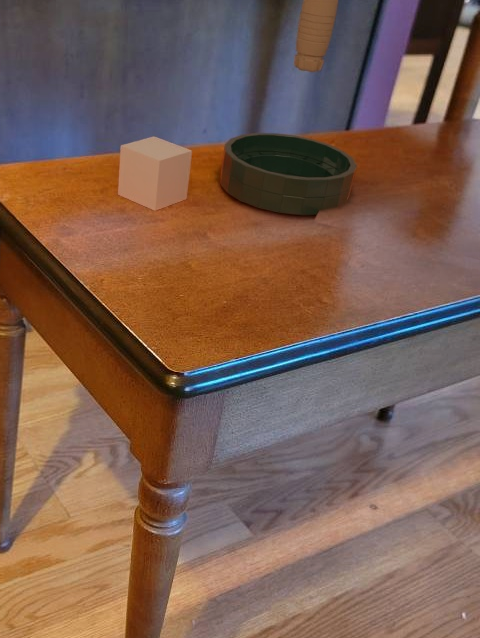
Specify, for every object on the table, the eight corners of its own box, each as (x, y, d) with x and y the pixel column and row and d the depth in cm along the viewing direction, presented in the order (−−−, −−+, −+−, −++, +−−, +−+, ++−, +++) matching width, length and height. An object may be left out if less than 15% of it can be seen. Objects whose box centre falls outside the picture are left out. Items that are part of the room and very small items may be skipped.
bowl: (355, 186, 101) (364, 150, 98) (335, 231, 88) (345, 190, 85) (238, 160, 104) (244, 124, 101) (203, 199, 91) (208, 159, 88)
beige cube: (117, 195, 90) (120, 145, 86) (149, 184, 94) (153, 136, 90) (155, 211, 87) (159, 160, 84) (186, 199, 91) (192, 150, 88)
